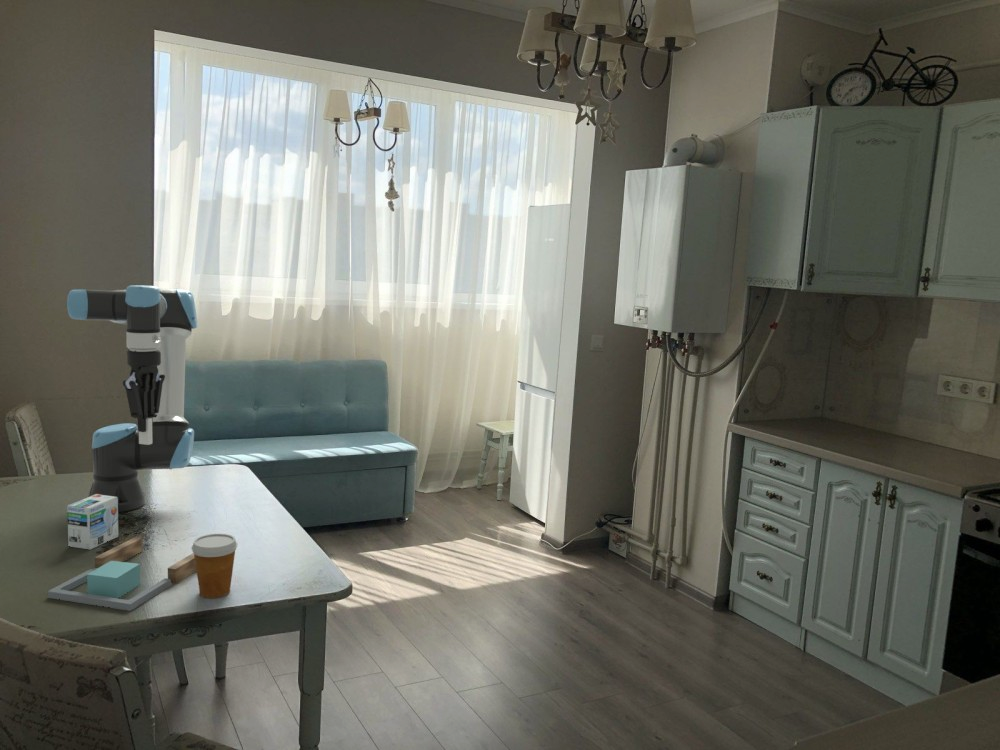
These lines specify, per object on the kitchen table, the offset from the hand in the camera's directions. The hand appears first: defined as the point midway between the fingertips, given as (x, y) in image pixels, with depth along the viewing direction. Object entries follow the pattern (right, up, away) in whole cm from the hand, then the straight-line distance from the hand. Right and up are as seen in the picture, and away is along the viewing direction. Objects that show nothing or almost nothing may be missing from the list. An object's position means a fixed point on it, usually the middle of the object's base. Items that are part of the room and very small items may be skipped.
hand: (145, 443), depth 194 cm
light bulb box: (-15, -26, +5) cm, 30 cm away
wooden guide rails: (+6, -28, -9) cm, 30 cm away
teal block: (+3, -30, -22) cm, 38 cm away
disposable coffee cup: (+25, -31, -21) cm, 45 cm away
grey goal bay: (+3, -30, -22) cm, 38 cm away
